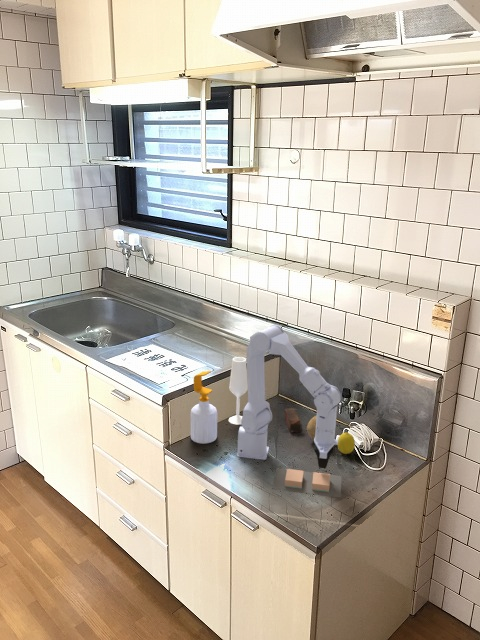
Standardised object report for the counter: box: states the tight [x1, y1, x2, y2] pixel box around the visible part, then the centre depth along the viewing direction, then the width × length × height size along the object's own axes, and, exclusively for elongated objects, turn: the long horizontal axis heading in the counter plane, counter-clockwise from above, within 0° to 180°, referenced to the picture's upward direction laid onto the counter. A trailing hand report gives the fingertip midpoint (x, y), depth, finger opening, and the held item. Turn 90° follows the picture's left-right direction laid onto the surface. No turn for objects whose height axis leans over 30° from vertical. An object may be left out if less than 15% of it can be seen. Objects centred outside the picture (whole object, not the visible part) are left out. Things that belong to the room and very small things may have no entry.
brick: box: [283, 407, 302, 433], centre depth 201 cm, size 11×4×5 cm, turn 8°
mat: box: [272, 467, 342, 498], centre depth 167 cm, size 20×11×1 cm, turn 79°
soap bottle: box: [190, 370, 218, 445], centre depth 188 cm, size 9×9×25 cm
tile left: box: [285, 468, 305, 489], centre depth 167 cm, size 5×2×6 cm
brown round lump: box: [306, 414, 317, 441], centre depth 190 cm, size 9×9×10 cm
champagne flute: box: [228, 356, 248, 425], centre depth 201 cm, size 7×7×24 cm
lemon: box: [337, 432, 356, 455], centre depth 183 cm, size 6×6×8 cm
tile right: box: [312, 471, 331, 492], centre depth 166 cm, size 5×2×6 cm
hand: (322, 466), depth 168 cm, fingers closed
